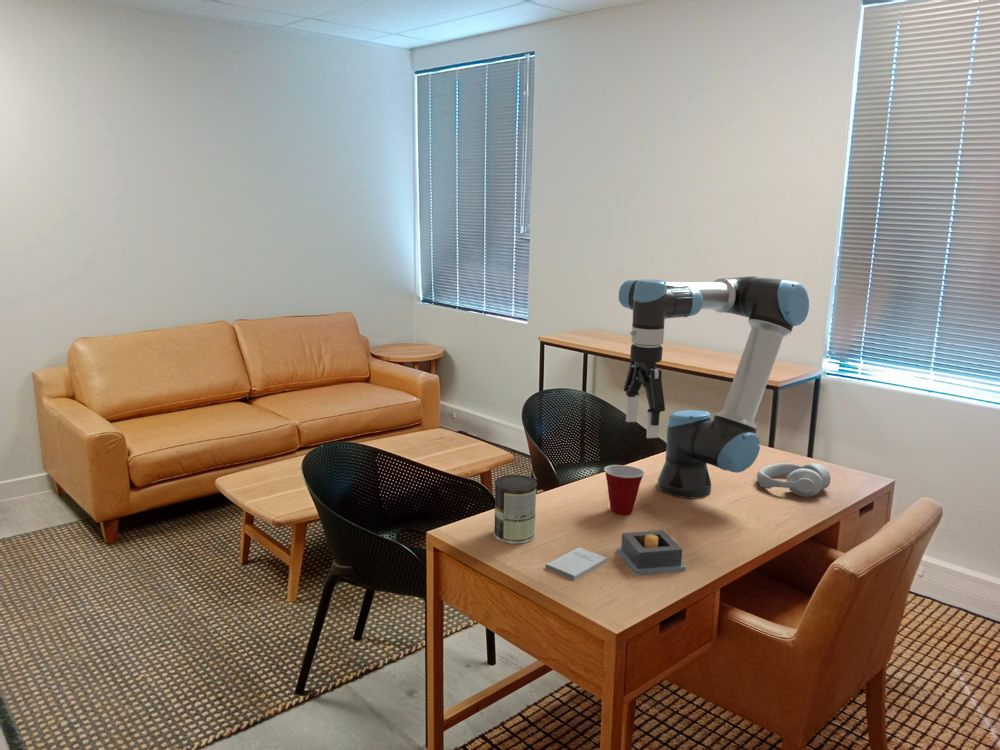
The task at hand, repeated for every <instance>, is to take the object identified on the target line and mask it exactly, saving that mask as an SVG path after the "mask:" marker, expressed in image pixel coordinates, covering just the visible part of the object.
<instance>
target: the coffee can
mask: <svg viewBox="0 0 1000 750" xmlns="http://www.w3.org/2000/svg"><path fill="white" fill-rule="evenodd" d="M494 486H495V489H494V490H495V491H494V532H493V536H494V538H495V539H496V540H497V541H499V540H500V541H499V542H501V543H505V544H510V543H511V545H513V544H514V545H520V544H526V543H528V542H529V543H530V542H531V541H533V539H534V538H536V507H537V505H536V503H537V487H538V482H537V480H536V479H535V478H533V477H530V476H528V475H522V474H507V475H502V476H500V477H498V478H496V479H495V480H494Z"/></svg>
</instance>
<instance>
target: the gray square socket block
mask: <svg viewBox="0 0 1000 750" xmlns="http://www.w3.org/2000/svg"><path fill="white" fill-rule="evenodd" d="M649 534H652V535H656V536H658V547H653V548H644V545H645V536H646V535H649ZM620 547H621V549H622V550H623V552H624V553H625V554H626V555H627V556H628V558H629V559H630V560H631V561H632V563H633V564H634V565H635V566H636V568H637V569H646V568H658V567H670V566H681V563H682V560H683V548H682V547H681V546H680V545H679V544H678V543H677V542H676V540H674V539H673V538H672V537H671V536H670V535H669V533H667V532H666V530H664V529H660V530H649V531H648V530H647V531H646V530H645V531H635V532H634V531H633V532H623V533H622V532H621V545H620ZM682 564H683V563H682Z"/></svg>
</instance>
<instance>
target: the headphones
mask: <svg viewBox="0 0 1000 750" xmlns="http://www.w3.org/2000/svg"><path fill="white" fill-rule="evenodd" d="M756 473H757V475H756V481H757V482H758V484H759V486H760V487H761V488H763V489H766V490H767V489H771V488H786V489H788V490H789V491H790V492H791V493H793V494H794V495H797V496H799V497H804V498H806V497H807V498H808V497H812V496H816V495H817V494H818V493H820V492H821V490H824V489H827V488H828V487H829V486H830V484H831V476H830V472H829V470H828V469H827V468H826V467H825V466H824V465H822V464H820V463H815V462H811V463H807V464H804V465H799V464H795V463H790V462H782V463H781V462H780V463H772V464H770V465H765V466H763V467H762V468H760V469H759V470H758V472H756ZM779 477H782V478H783V477H787V478H786V481H783V480H779V479H774V478H779Z"/></svg>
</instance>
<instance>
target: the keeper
mask: <svg viewBox="0 0 1000 750" xmlns="http://www.w3.org/2000/svg"><path fill="white" fill-rule="evenodd" d="M653 547H658V536H656V535H652V534H649V535H646V536H645V545H644V548H653ZM616 553H617V555H619V556H620V558H621V559H622V561H623V562H624V563H625V564H626V565H627V567H628V568H629V569H630V571H631V572H632V573H633V575H634V576H642V575H643V576H644V575H653V574H655V575H656V574H663V573H664V574H666V573H676V572H678V573H679V572H686V566H685V565H684V564H683V563H681V566H670V567H658V568H646V569H637V568H636V566H635V565H634V564H633V563H632V561H631V560H630V559H629V558H628V556H627V555H626V554H625V553H624V552H623V550H622V549H621V546H620V547H616Z"/></svg>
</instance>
